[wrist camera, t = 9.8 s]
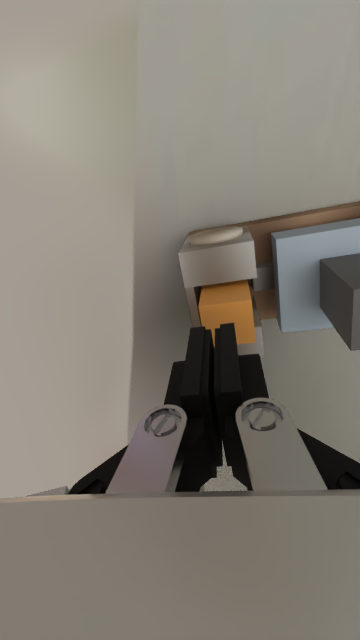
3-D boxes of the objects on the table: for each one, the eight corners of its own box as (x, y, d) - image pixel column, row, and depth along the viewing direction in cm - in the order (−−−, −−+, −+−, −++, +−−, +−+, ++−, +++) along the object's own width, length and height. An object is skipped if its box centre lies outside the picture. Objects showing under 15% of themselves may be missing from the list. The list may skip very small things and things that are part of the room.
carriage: (396, 211, 17) (494, 233, 11) (387, 306, 20) (463, 368, 14) (270, 233, 19) (294, 263, 12) (276, 319, 21) (299, 381, 15)
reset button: (246, 275, 18) (251, 299, 14) (250, 312, 19) (256, 342, 15) (203, 281, 18) (198, 306, 15) (209, 317, 19) (205, 347, 16)
